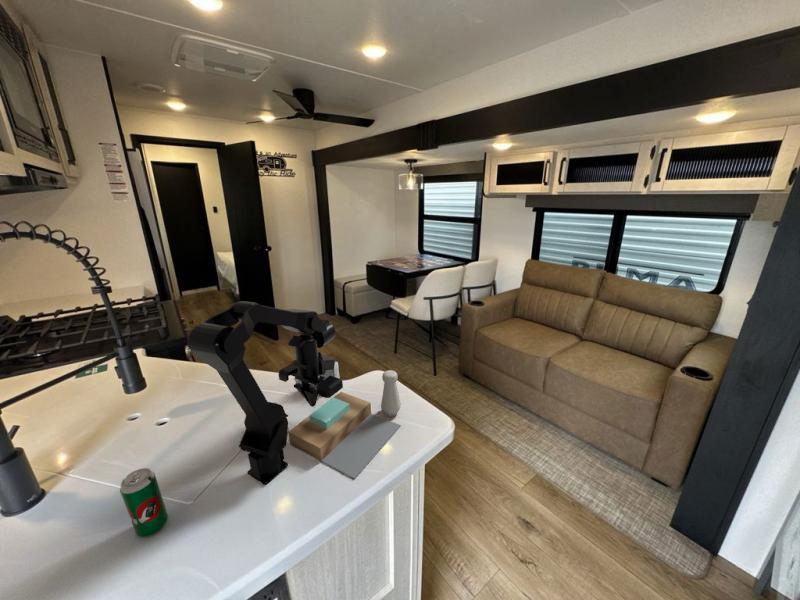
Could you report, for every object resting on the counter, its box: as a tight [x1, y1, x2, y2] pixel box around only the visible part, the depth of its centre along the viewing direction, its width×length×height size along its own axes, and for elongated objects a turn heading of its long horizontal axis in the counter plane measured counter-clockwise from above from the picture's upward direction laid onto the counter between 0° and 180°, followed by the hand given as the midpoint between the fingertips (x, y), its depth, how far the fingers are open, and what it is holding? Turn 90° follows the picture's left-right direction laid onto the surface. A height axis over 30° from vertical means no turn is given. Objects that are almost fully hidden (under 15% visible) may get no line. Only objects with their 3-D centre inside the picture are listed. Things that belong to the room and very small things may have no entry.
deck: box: [287, 391, 372, 463], centre depth 86 cm, size 20×11×4 cm, turn 149°
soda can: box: [119, 467, 169, 538], centre depth 59 cm, size 5×5×12 cm
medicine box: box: [321, 361, 341, 379], centre depth 104 cm, size 8×4×9 cm, turn 84°
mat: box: [321, 413, 402, 480], centre depth 81 cm, size 20×10×1 cm, turn 149°
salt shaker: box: [380, 369, 402, 418], centre depth 91 cm, size 6×6×13 cm
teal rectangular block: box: [308, 396, 350, 429], centre depth 85 cm, size 9×6×2 cm, turn 149°
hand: (313, 405), depth 88 cm, fingers closed
